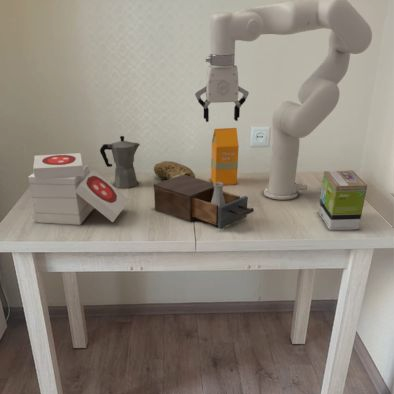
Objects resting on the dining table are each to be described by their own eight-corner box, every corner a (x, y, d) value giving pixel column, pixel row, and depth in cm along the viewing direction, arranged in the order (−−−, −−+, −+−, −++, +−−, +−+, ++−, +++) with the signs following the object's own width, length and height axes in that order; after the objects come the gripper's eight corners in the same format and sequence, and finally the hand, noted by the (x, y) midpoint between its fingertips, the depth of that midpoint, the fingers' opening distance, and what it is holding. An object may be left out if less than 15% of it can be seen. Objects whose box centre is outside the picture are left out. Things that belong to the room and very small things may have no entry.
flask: (221, 219, 159) (222, 189, 153) (202, 215, 162) (203, 185, 156) (232, 212, 163) (233, 182, 157) (213, 208, 166) (214, 178, 161)
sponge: (198, 188, 193) (181, 164, 205) (196, 171, 187) (179, 146, 199) (167, 198, 191) (152, 173, 203) (164, 180, 185) (148, 155, 197)
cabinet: (218, 209, 171) (219, 184, 166) (190, 221, 162) (190, 195, 157) (183, 198, 180) (183, 174, 175) (154, 209, 171) (153, 184, 166)
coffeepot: (139, 179, 198) (135, 131, 188) (145, 186, 191) (142, 137, 180) (101, 183, 194) (96, 135, 183) (106, 190, 187) (101, 141, 176)
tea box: (316, 213, 169) (323, 169, 160) (345, 212, 169) (353, 169, 161) (328, 230, 157) (336, 184, 148) (359, 230, 157) (369, 184, 149)
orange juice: (236, 184, 194) (239, 130, 182) (215, 185, 192) (216, 131, 180) (231, 178, 200) (234, 125, 188) (210, 179, 198) (211, 126, 186)
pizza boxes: (117, 229, 157) (112, 172, 146) (28, 224, 160) (16, 167, 149) (131, 207, 173) (127, 154, 162) (49, 203, 175) (40, 151, 165)
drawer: (259, 221, 161) (261, 200, 157) (234, 233, 152) (235, 212, 148) (211, 205, 172) (211, 186, 168) (184, 216, 164) (184, 196, 160)
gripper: (195, 63, 148) (196, 124, 158) (252, 61, 149) (249, 122, 159) (193, 60, 154) (194, 119, 164) (247, 58, 155) (245, 117, 165)
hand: (221, 120), depth 162 cm, fingers open, 9 cm apart
